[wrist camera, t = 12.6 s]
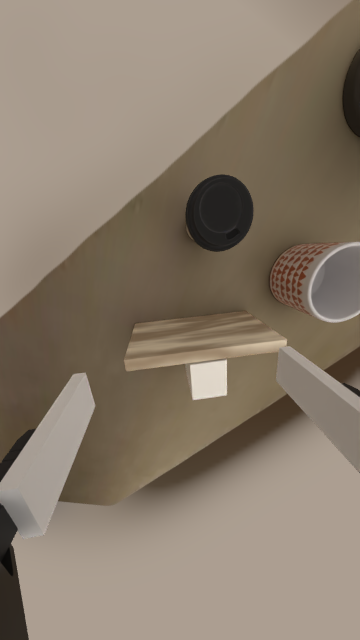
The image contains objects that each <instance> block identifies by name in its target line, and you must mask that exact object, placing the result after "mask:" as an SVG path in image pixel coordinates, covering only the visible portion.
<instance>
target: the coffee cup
mask: <svg viewBox="0 0 360 640" xmlns="http://www.w3.org/2000/svg"><path fill="white" fill-rule="evenodd" d="M252 219H253V202H252V198H251V195H250V193H249V191H248V189H247V188H246V186H245V185H244V184H243V183H242V182H241V181H239V180H238V179H236V178H235V177H232V176H229V175H215V176H212V177H209V178H207V179H205V180H204V181H202V182H201V183H200V184H198V185H197V187H196V188H195V189H194V190H193V192H192V193H191V195H190V197H189V200H188V203H187V207H186V229H187V233H188V235H189V236H190V238H191V239H192V240H194V241H195V242H196V243H197V244H198V245H199V246H201V247H202V248H204V249H207V250H210V251H216V252H217V251H225V250H228V249H230V248H232V247H234V246H235V245H237V244H238V243H239V242H240V241H241V240H242V239H243V238H244V237H245V236H246V234H247V232H248V231H249V229H250V226H251V223H252Z"/></svg>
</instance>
